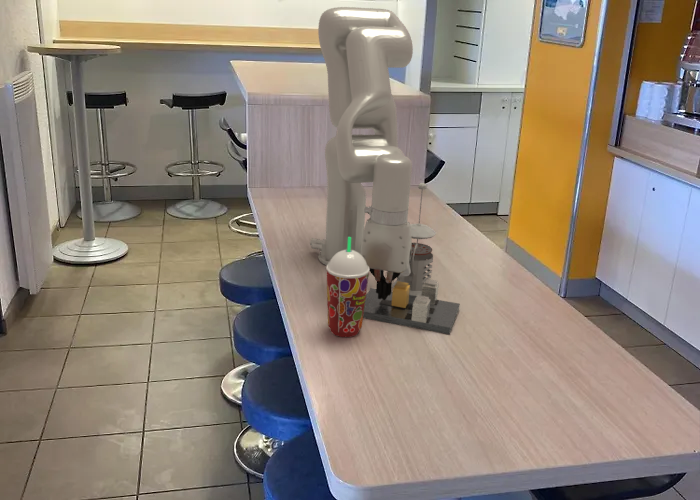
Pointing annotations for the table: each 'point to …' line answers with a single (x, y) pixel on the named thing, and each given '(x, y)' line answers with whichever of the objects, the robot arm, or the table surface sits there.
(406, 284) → the orange rectangular block
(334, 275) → the smoothie
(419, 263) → the french press
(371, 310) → the panel
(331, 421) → the table surface
